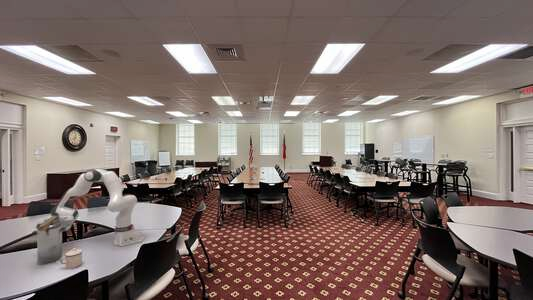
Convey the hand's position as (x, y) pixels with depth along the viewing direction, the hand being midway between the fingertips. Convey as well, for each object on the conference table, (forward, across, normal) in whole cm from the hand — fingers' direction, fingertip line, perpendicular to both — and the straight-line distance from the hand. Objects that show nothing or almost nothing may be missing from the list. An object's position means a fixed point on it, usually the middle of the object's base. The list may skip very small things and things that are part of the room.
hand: (54, 218), depth 173 cm
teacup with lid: (+8, +16, +37) cm, 41 cm away
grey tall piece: (-7, 0, +28) cm, 29 cm away
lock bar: (+6, 0, +6) cm, 8 cm away
